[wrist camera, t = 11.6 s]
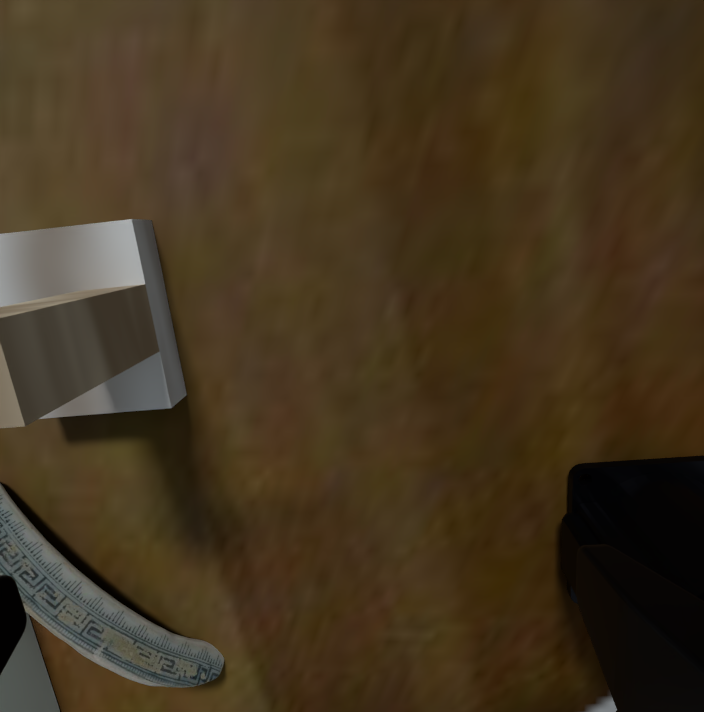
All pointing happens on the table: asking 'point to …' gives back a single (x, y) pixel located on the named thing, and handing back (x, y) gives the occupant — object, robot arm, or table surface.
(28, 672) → the stop rail
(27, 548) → the ceramic fragment
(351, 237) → the table surface
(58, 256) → the plate with square post
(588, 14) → the table surface
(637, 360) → the table surface
